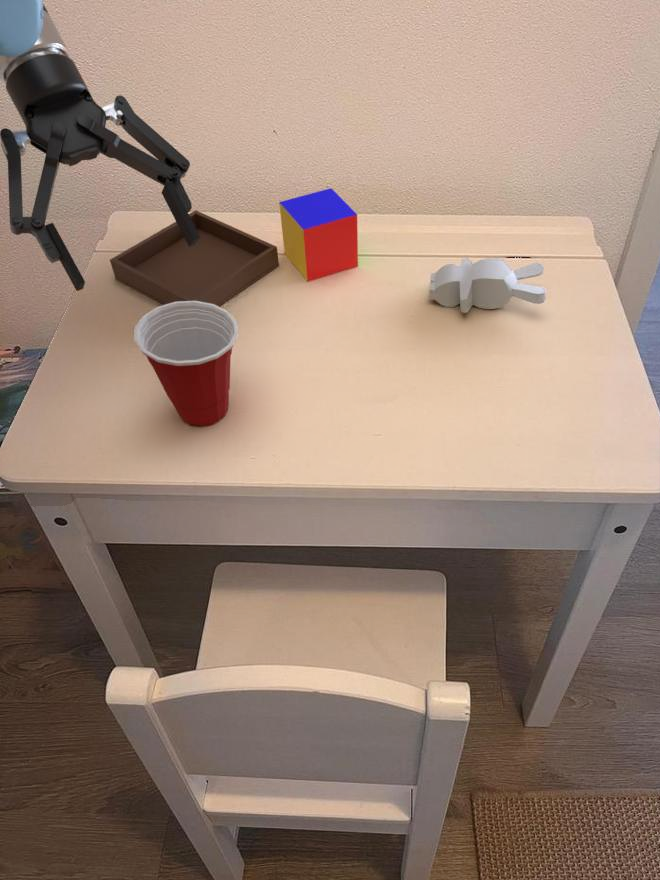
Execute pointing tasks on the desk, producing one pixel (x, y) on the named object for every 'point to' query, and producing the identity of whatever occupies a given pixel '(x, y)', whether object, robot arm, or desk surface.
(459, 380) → the desk surface
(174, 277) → the tray
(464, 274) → the bunny figurine
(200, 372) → the plastic cup
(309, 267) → the cube
